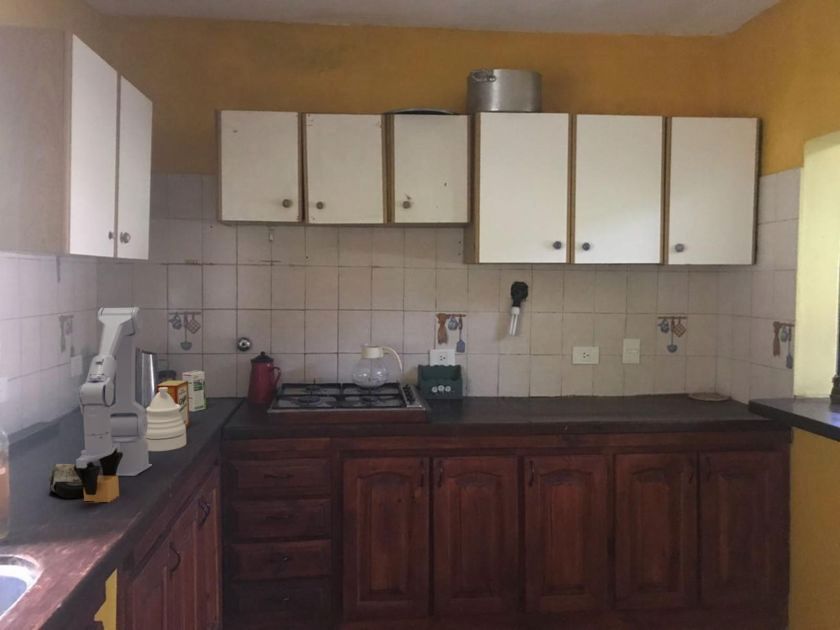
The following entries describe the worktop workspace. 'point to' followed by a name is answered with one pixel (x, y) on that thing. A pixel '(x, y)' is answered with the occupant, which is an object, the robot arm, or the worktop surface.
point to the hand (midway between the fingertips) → (100, 488)
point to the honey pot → (164, 423)
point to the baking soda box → (179, 396)
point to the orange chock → (104, 489)
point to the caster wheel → (66, 481)
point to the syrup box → (196, 390)
